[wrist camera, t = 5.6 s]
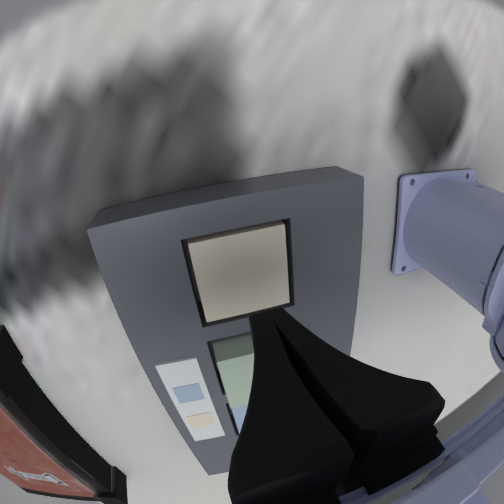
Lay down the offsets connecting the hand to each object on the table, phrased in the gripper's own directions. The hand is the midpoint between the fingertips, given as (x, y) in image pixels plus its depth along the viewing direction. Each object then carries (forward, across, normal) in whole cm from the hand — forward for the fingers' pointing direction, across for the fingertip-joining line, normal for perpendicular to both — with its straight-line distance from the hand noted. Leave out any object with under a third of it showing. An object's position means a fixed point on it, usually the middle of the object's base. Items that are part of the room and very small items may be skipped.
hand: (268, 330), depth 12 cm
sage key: (+5, 0, +7) cm, 8 cm away
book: (+8, +27, +15) cm, 32 cm away
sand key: (+7, 0, 0) cm, 7 cm away
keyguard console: (+7, 0, +10) cm, 12 cm away
